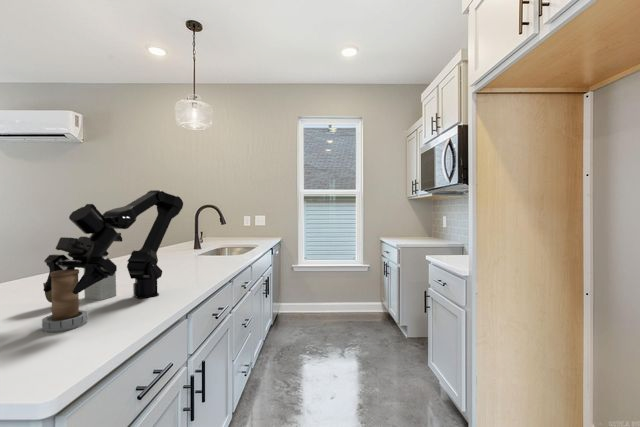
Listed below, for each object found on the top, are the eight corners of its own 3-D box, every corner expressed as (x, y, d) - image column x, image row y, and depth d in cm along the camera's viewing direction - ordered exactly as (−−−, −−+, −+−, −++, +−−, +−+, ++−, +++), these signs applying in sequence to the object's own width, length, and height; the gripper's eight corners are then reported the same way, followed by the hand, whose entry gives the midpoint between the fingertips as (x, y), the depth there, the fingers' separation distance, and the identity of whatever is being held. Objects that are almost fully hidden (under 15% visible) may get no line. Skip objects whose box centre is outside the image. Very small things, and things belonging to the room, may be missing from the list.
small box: (116, 296, 108) (116, 265, 108) (100, 300, 103) (100, 268, 103) (100, 293, 111) (99, 264, 111) (83, 298, 106) (83, 267, 105)
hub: (84, 316, 88) (84, 308, 87) (89, 325, 81) (89, 316, 81) (41, 325, 81) (41, 315, 81) (43, 335, 75) (42, 325, 75)
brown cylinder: (82, 316, 85) (81, 268, 85) (77, 323, 80) (76, 272, 80) (54, 319, 82) (54, 270, 82) (47, 326, 77) (47, 274, 77)
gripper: (51, 225, 86) (4, 273, 76) (107, 226, 83) (65, 277, 72) (78, 249, 94) (40, 296, 84) (131, 251, 90) (97, 300, 80)
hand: (59, 292), depth 80 cm, fingers open, 9 cm apart
